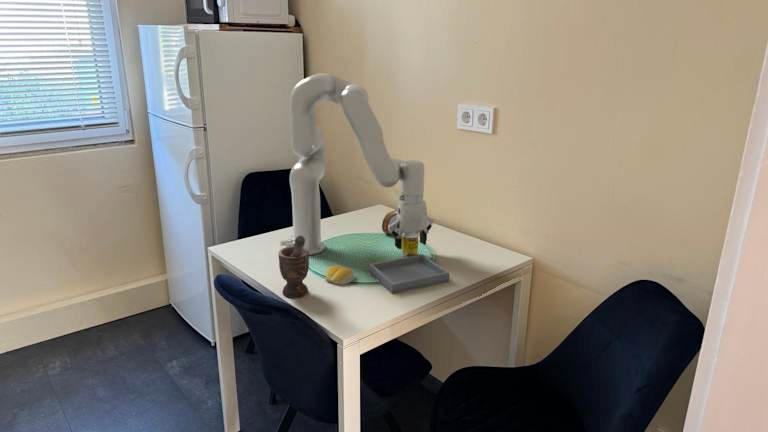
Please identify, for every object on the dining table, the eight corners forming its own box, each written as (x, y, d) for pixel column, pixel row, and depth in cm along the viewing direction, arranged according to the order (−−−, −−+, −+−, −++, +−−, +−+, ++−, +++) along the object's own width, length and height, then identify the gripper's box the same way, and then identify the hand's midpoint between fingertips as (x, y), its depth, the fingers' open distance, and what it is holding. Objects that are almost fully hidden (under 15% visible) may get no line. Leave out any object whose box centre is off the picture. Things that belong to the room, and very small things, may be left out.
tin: (403, 225, 212) (403, 205, 210) (409, 227, 211) (410, 206, 208) (380, 235, 201) (381, 214, 198) (387, 237, 199) (388, 216, 196)
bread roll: (337, 271, 170) (337, 259, 169) (358, 279, 165) (358, 267, 164) (318, 279, 164) (318, 267, 163) (339, 288, 159) (339, 276, 158)
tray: (392, 293, 156) (392, 284, 155) (368, 272, 169) (368, 264, 168) (448, 281, 164) (449, 272, 163) (422, 262, 178) (422, 254, 177)
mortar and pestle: (322, 296, 153) (321, 231, 147) (298, 306, 147) (296, 239, 141) (298, 283, 161) (296, 221, 154) (274, 292, 155) (271, 228, 148)
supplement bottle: (407, 259, 180) (408, 231, 176) (398, 254, 184) (399, 226, 181) (420, 256, 183) (422, 228, 179) (411, 251, 187) (412, 223, 184)
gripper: (394, 204, 170) (393, 253, 175) (440, 197, 177) (437, 245, 183) (383, 198, 176) (383, 246, 181) (428, 192, 183) (426, 238, 189)
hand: (410, 245), depth 182 cm, fingers open, 9 cm apart
